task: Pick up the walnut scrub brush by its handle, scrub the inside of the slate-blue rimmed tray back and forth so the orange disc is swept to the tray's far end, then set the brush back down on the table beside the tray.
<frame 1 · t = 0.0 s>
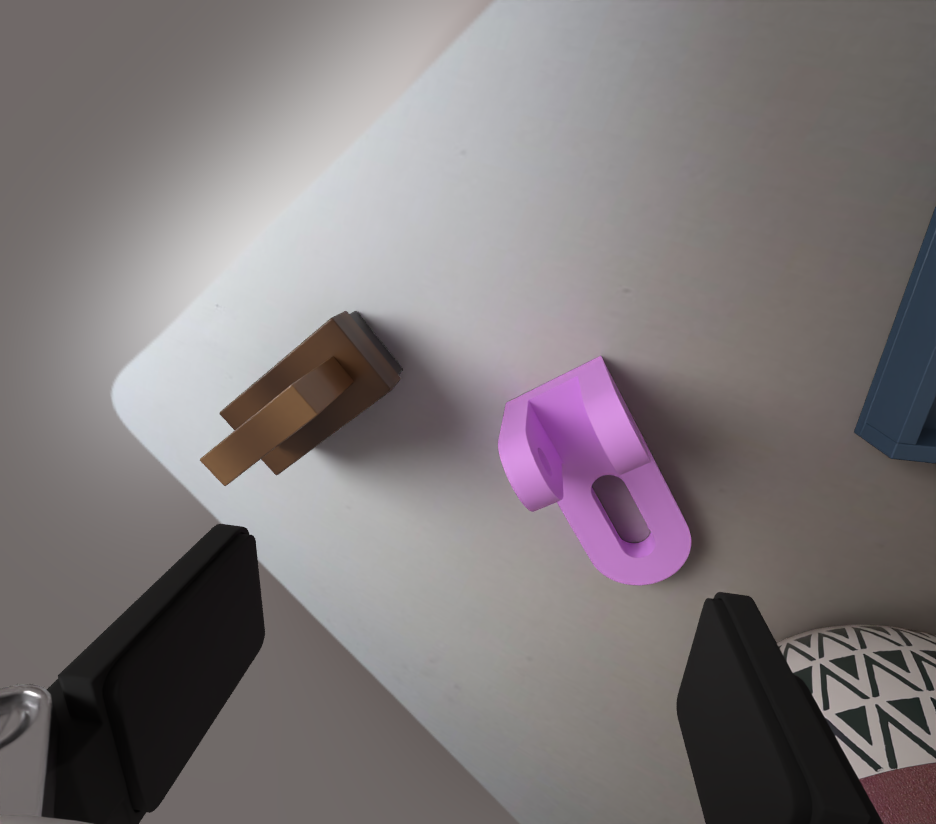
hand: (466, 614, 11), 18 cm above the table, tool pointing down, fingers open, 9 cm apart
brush: (328, 381, 29), on the table
planter: (821, 677, 32), on the table
bracket: (605, 476, 29), on the table
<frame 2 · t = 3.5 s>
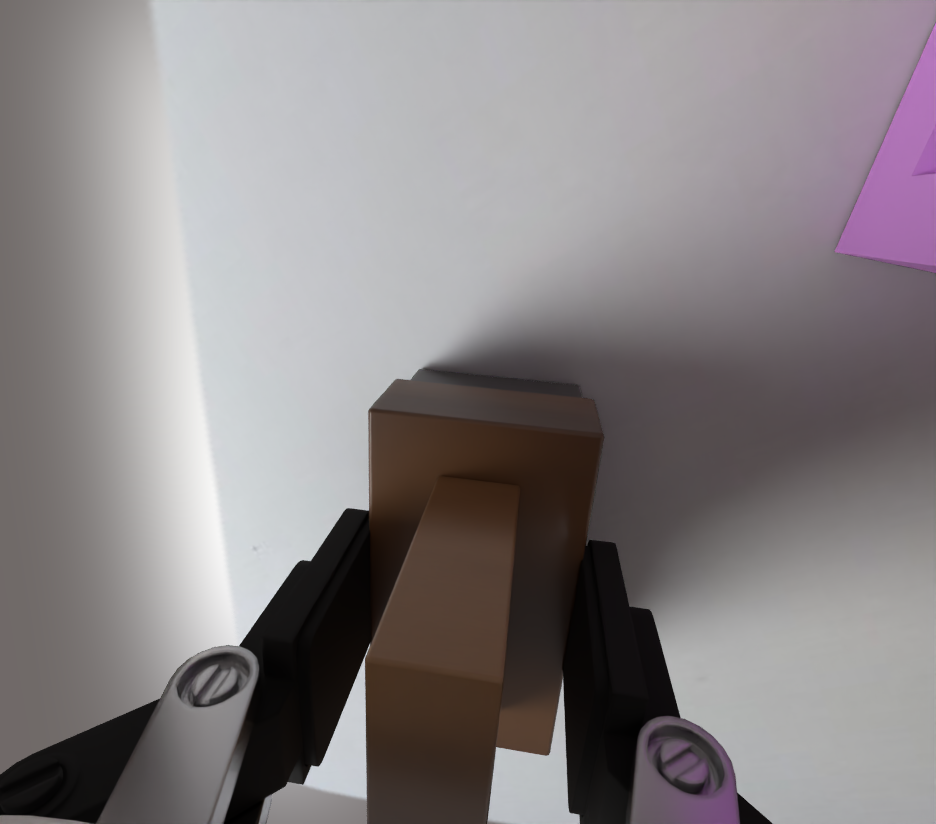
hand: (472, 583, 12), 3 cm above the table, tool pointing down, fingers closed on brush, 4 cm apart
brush: (485, 515, 14), on the table, touching gripper
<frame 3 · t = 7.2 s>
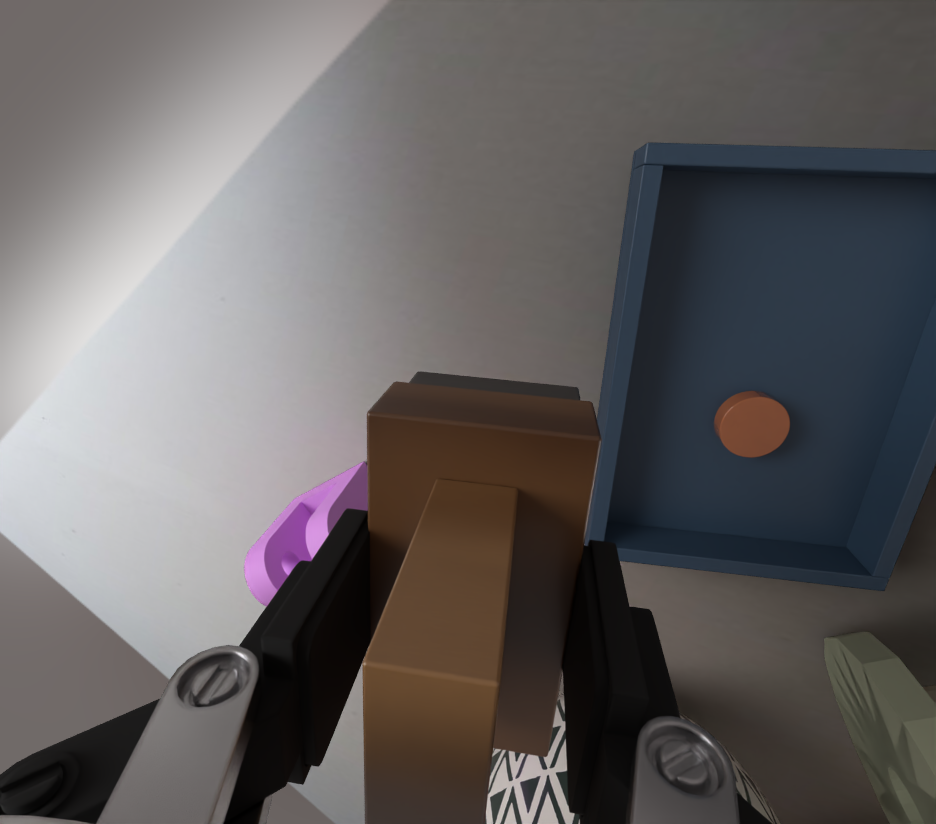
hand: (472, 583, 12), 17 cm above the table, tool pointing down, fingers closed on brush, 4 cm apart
orange disc: (747, 420, 26), point 1 cm above the table, touching tray
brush: (484, 517, 14), point 14 cm above the table, touching gripper
planter: (602, 729, 36), on the table
tray: (753, 373, 26), on the table
bracket: (388, 559, 33), on the table
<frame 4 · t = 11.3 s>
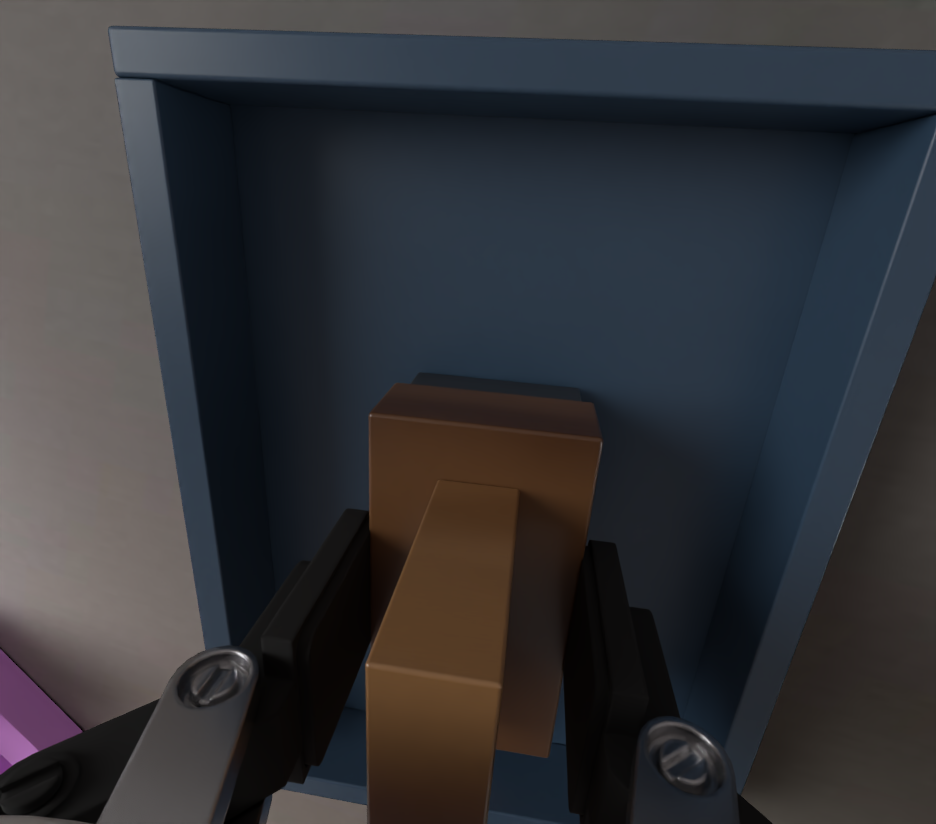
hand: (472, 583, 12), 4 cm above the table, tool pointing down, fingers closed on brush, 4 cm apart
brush: (485, 517, 14), point 1 cm above the table, touching gripper
tray: (492, 482, 15), on the table
bracket: (19, 719, 22), on the table
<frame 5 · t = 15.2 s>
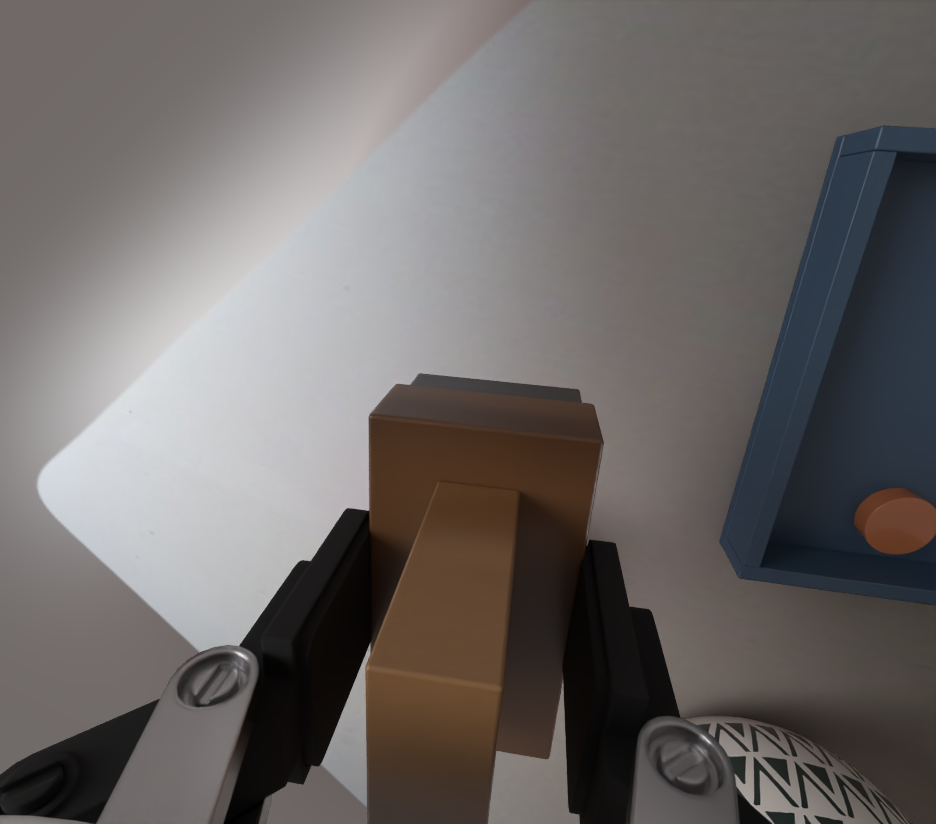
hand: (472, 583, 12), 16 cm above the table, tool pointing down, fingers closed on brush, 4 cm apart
orange disc: (889, 515, 26), point 1 cm above the table, touching tray
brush: (485, 518, 14), point 13 cm above the table, touching gripper
planter: (710, 754, 34), on the table
tray: (935, 384, 24), on the table
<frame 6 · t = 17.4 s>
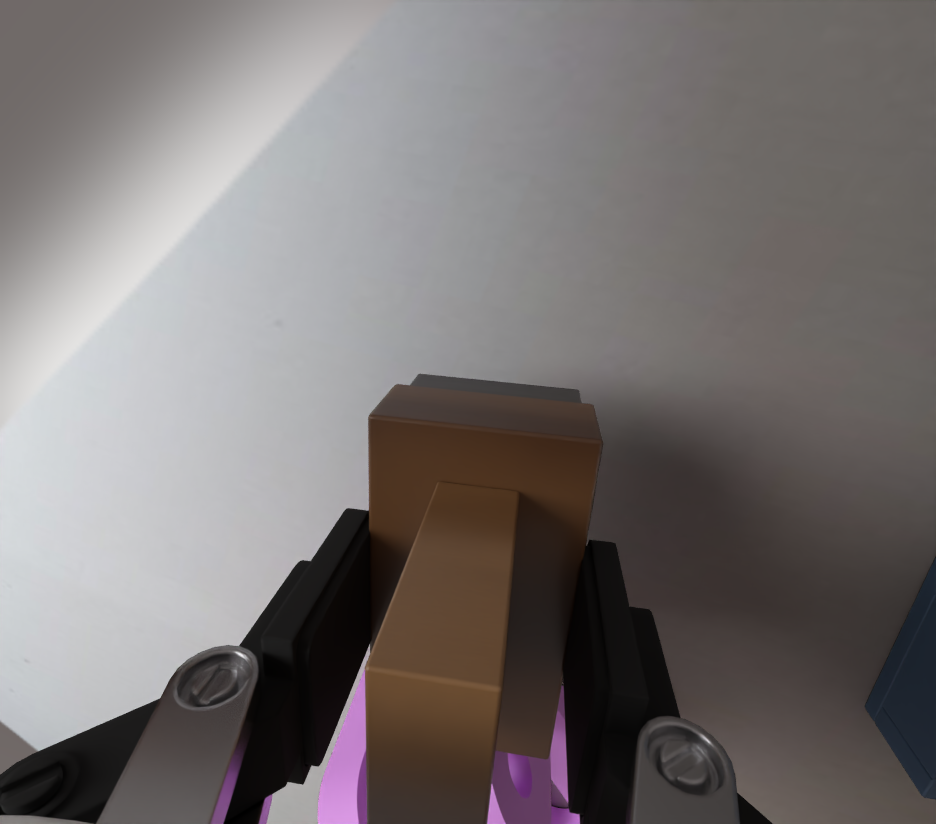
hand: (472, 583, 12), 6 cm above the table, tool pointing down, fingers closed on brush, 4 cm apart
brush: (485, 519, 14), point 3 cm above the table, touching gripper
bracket: (519, 729, 21), on the table
when the fingers open (3 cm above the table, at t = 18.6 s): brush stays where it is, on the table.
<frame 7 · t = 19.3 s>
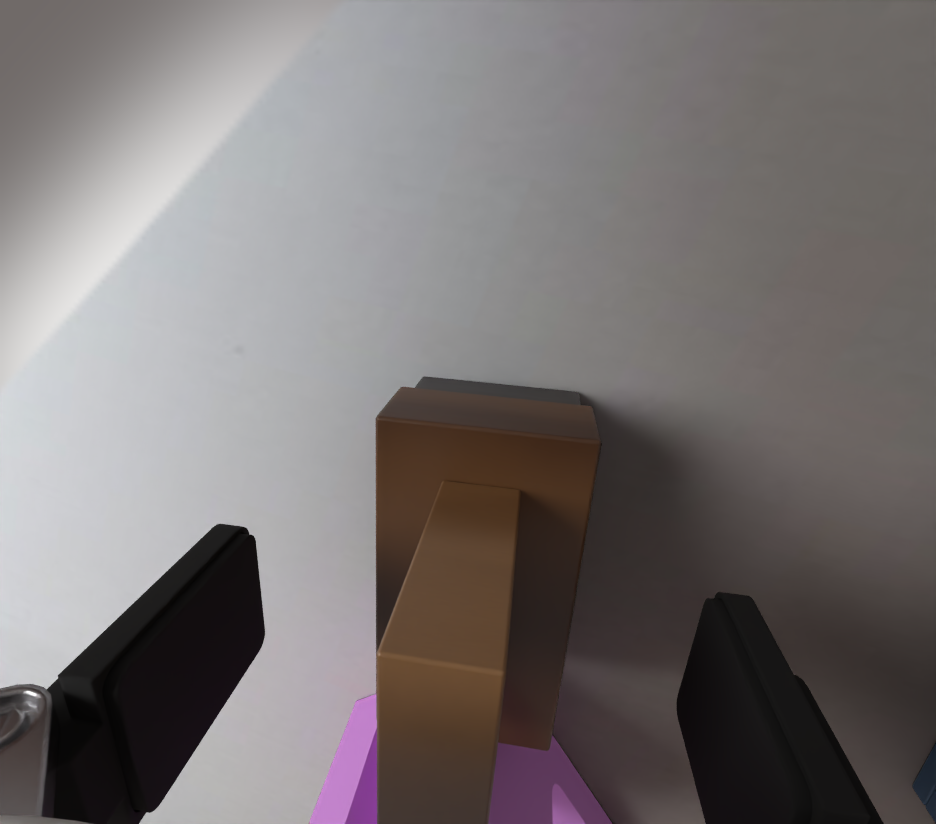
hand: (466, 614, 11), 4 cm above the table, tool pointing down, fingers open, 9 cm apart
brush: (487, 518, 15), on the table
bracket: (517, 800, 19), on the table
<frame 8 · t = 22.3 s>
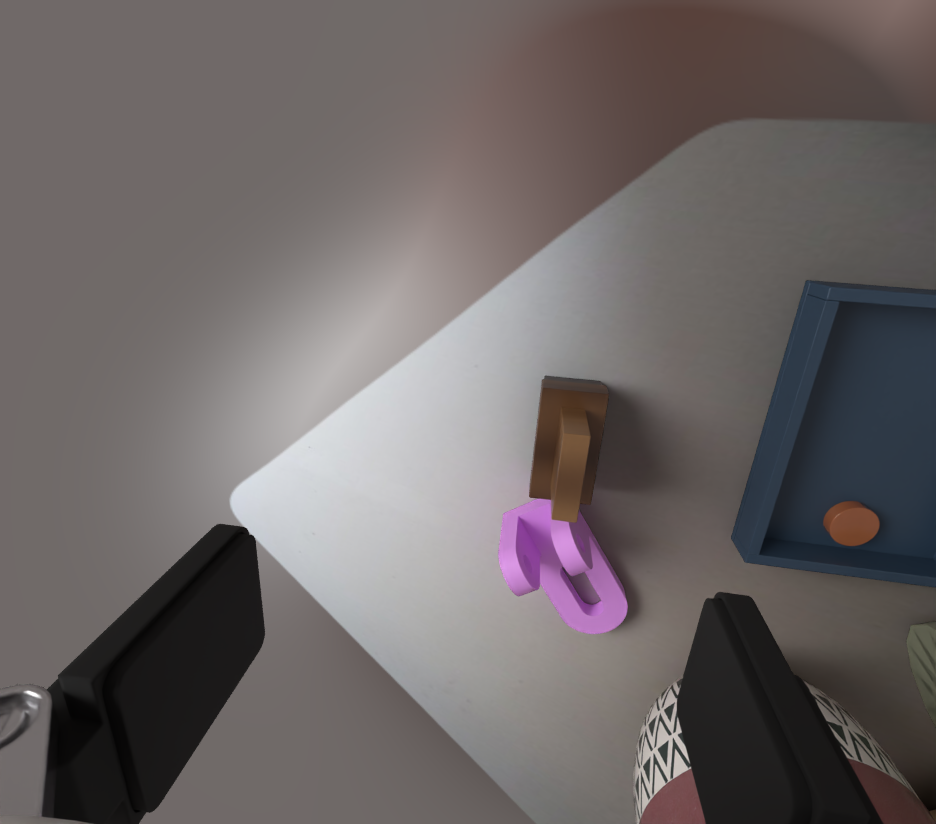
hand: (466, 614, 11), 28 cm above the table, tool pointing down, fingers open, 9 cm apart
orange disc: (847, 519, 38), point 1 cm above the table, touching tray
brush: (565, 429, 39), on the table
planter: (723, 695, 46), on the table
tray: (874, 433, 36), on the table
bracket: (570, 560, 43), on the table
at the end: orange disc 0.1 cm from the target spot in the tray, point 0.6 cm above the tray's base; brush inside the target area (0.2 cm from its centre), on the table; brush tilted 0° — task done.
